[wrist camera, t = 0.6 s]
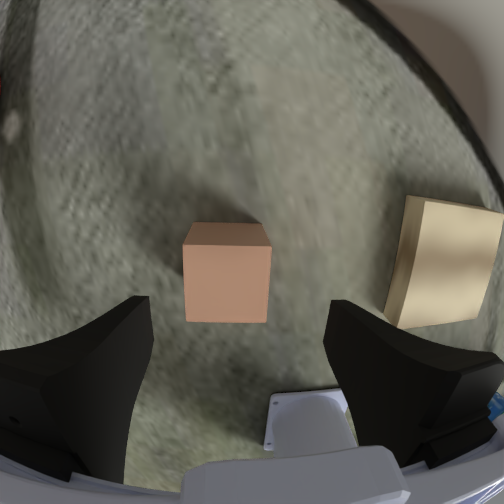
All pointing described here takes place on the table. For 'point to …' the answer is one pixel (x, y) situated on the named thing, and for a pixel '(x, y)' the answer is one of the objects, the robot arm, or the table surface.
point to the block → (226, 272)
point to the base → (442, 262)
